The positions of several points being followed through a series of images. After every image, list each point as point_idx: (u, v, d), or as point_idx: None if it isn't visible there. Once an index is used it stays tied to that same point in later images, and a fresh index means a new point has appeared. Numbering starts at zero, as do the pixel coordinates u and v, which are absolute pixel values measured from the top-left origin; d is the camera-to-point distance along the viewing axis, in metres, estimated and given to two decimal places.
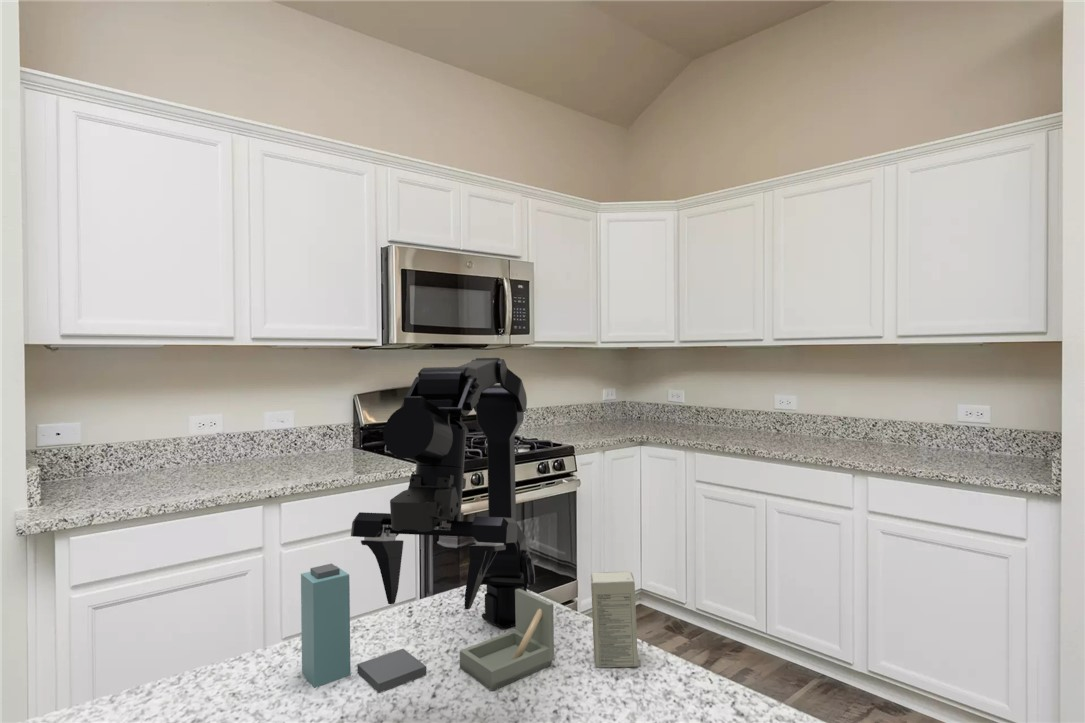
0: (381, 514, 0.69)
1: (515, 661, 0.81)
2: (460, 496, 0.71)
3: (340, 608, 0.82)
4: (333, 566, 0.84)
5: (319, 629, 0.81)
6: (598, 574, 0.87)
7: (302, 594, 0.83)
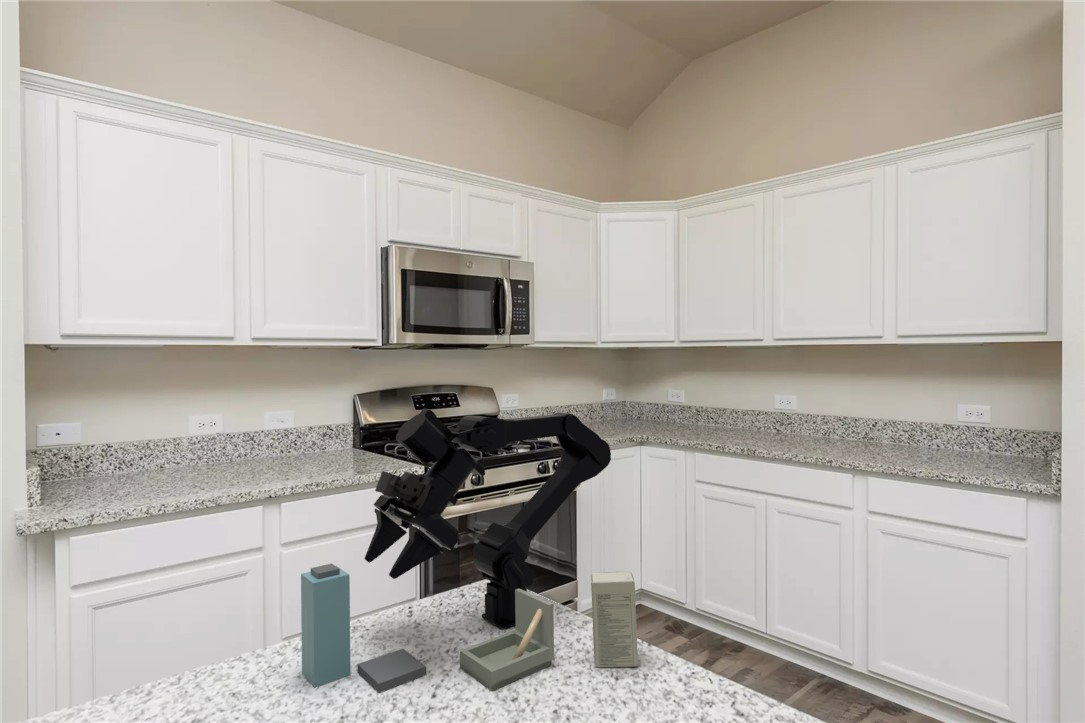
0: (394, 496, 0.95)
1: (515, 661, 0.81)
2: (438, 502, 0.90)
3: (340, 608, 0.82)
4: (333, 566, 0.84)
5: (319, 629, 0.81)
6: (598, 574, 0.87)
7: (302, 594, 0.83)
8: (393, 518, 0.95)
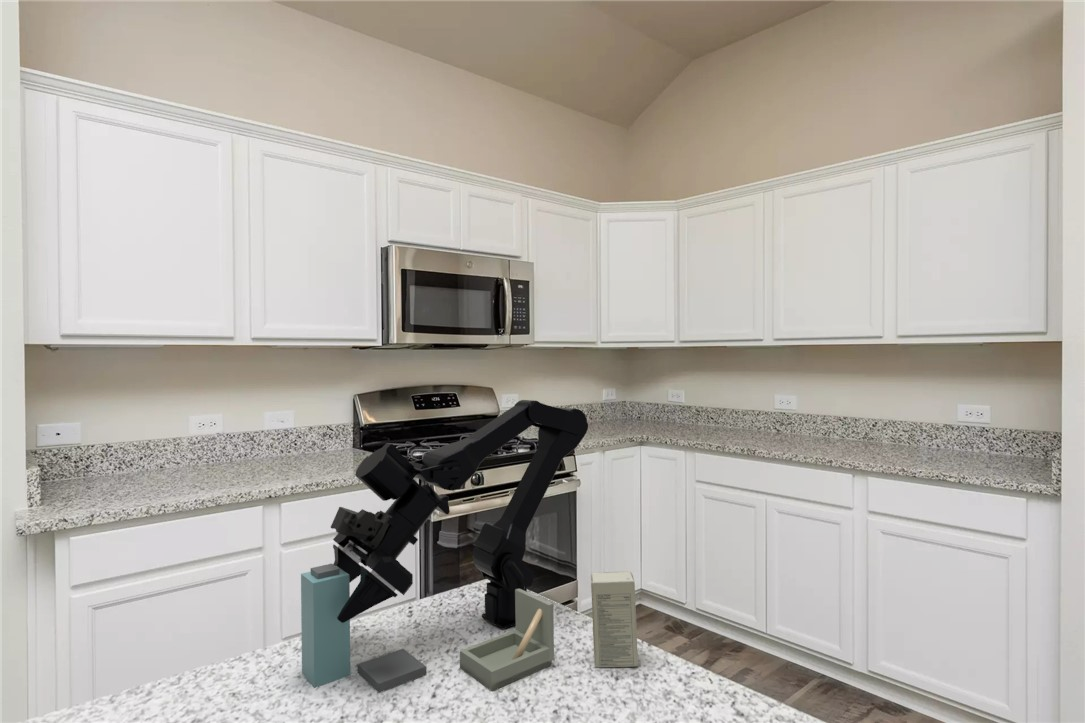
0: None
1: (515, 661, 0.81)
2: (396, 541, 0.87)
3: (340, 608, 0.82)
4: (333, 566, 0.84)
5: (319, 629, 0.81)
6: (598, 574, 0.87)
7: (302, 594, 0.83)
8: (351, 555, 0.91)
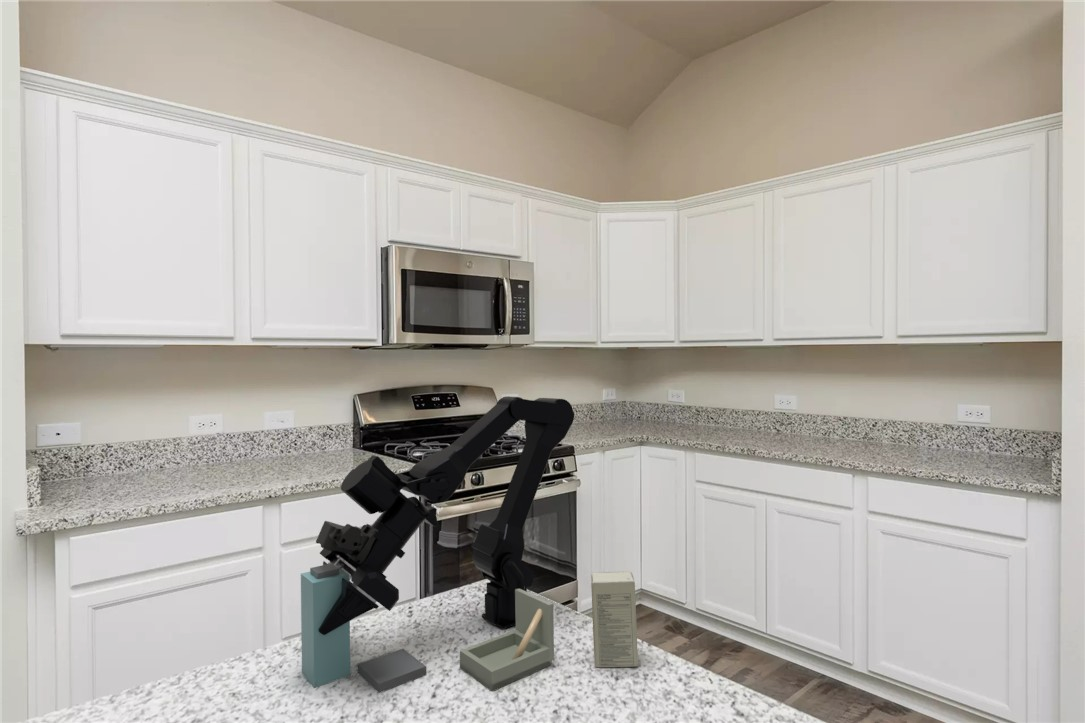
0: None
1: (515, 661, 0.81)
2: (382, 555, 0.86)
3: None
4: (333, 566, 0.84)
5: None
6: (598, 574, 0.87)
7: (302, 593, 0.83)
8: None
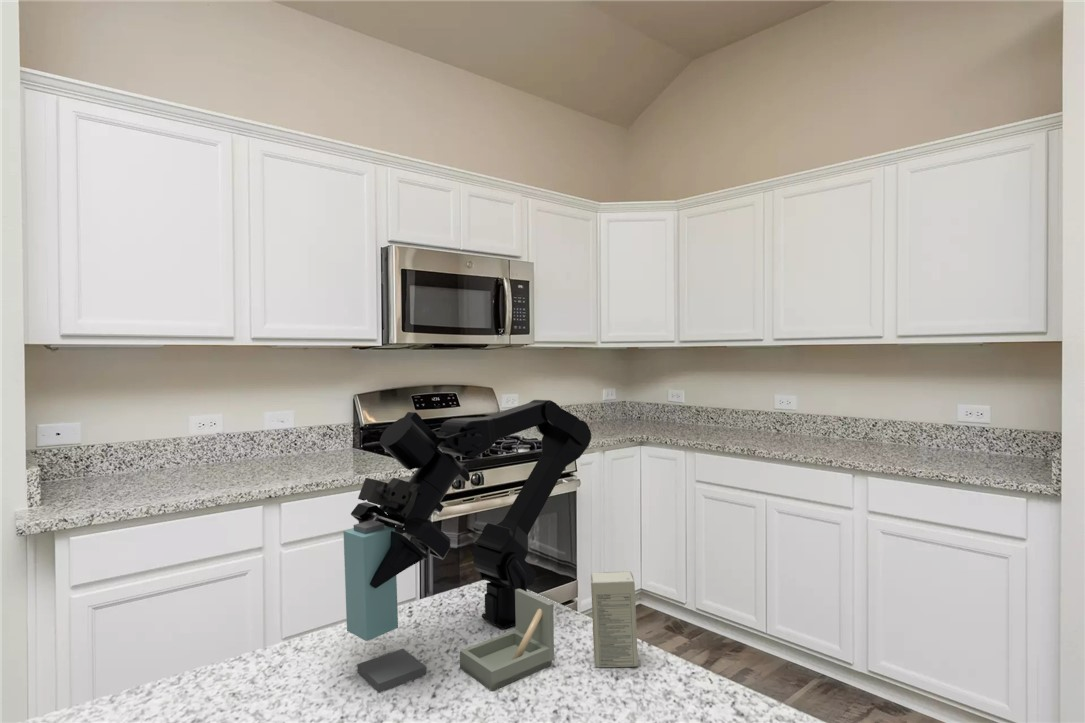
0: (374, 505, 0.90)
1: (515, 661, 0.81)
2: (425, 509, 0.87)
3: None
4: (376, 522, 0.84)
5: None
6: (598, 574, 0.87)
7: (347, 551, 0.83)
8: None
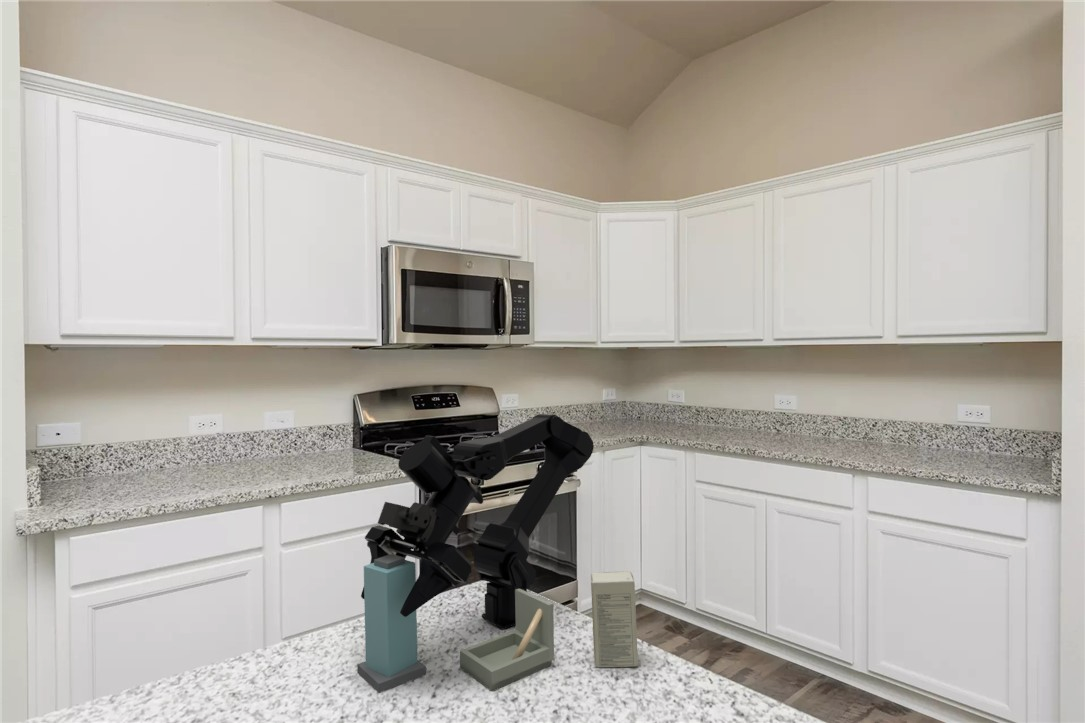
0: (388, 528, 0.90)
1: (515, 661, 0.81)
2: (443, 532, 0.87)
3: None
4: (396, 556, 0.84)
5: (392, 618, 0.81)
6: (598, 574, 0.87)
7: (367, 586, 0.83)
8: (388, 551, 0.90)
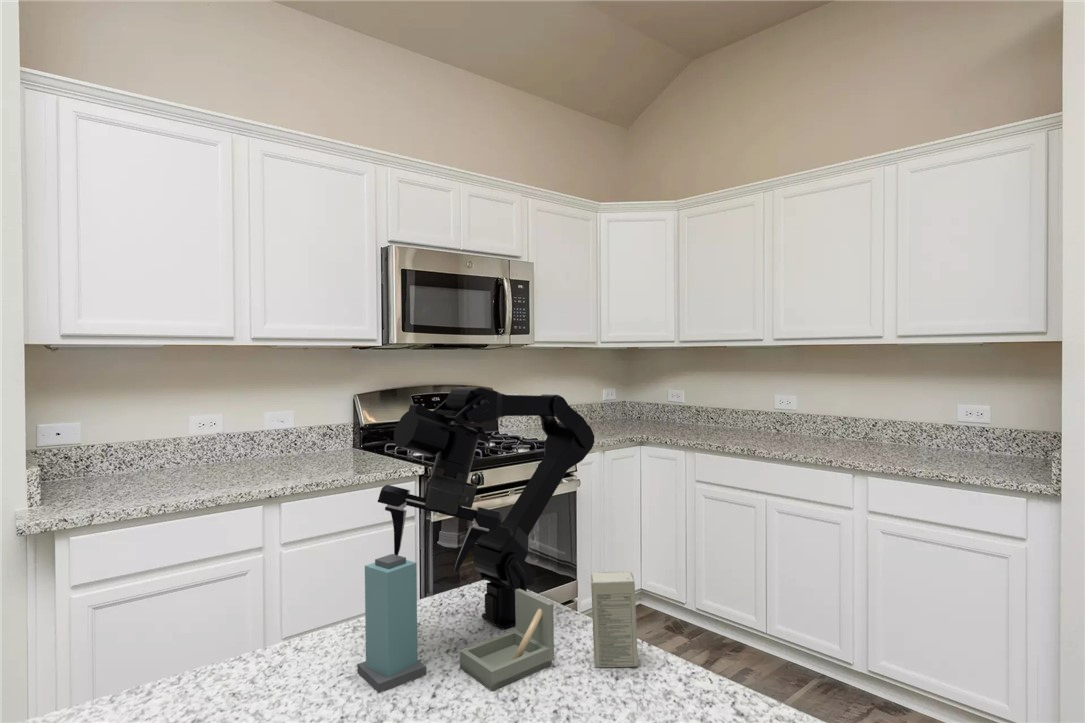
0: (405, 490, 0.90)
1: (515, 661, 0.81)
2: None
3: (409, 596, 0.83)
4: (397, 556, 0.85)
5: (393, 618, 0.81)
6: (598, 574, 0.87)
7: (368, 585, 0.83)
8: (403, 508, 0.91)
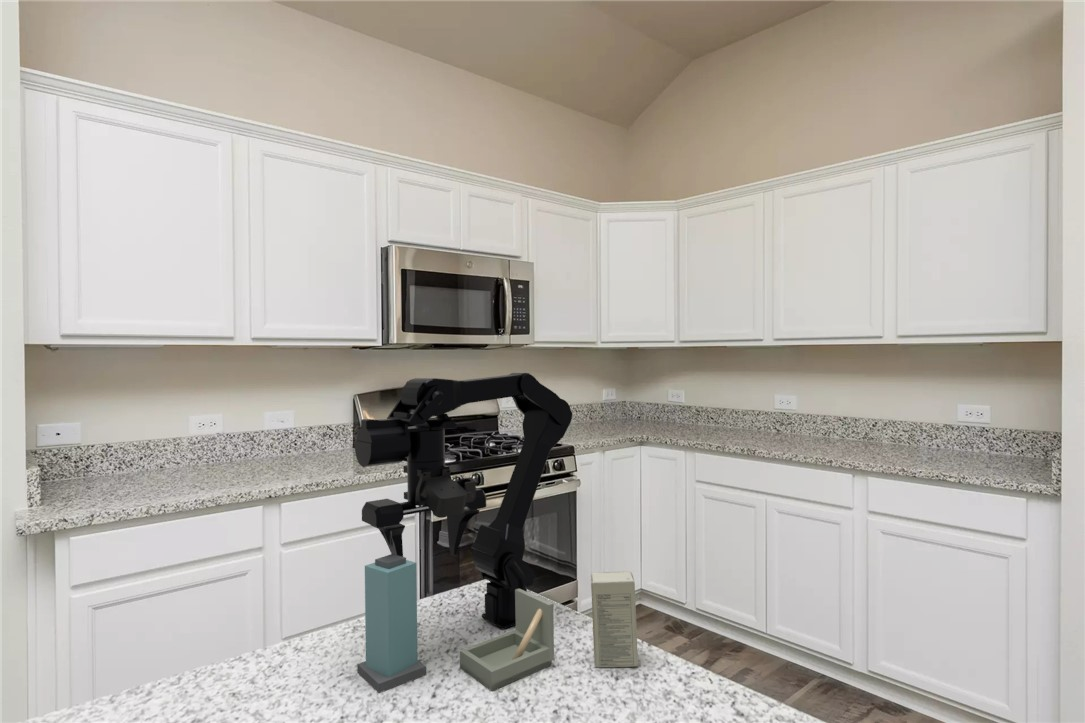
0: (398, 504, 0.86)
1: (515, 661, 0.81)
2: None
3: (409, 596, 0.83)
4: (397, 556, 0.85)
5: (393, 618, 0.81)
6: (598, 574, 0.87)
7: (368, 585, 0.83)
8: None
